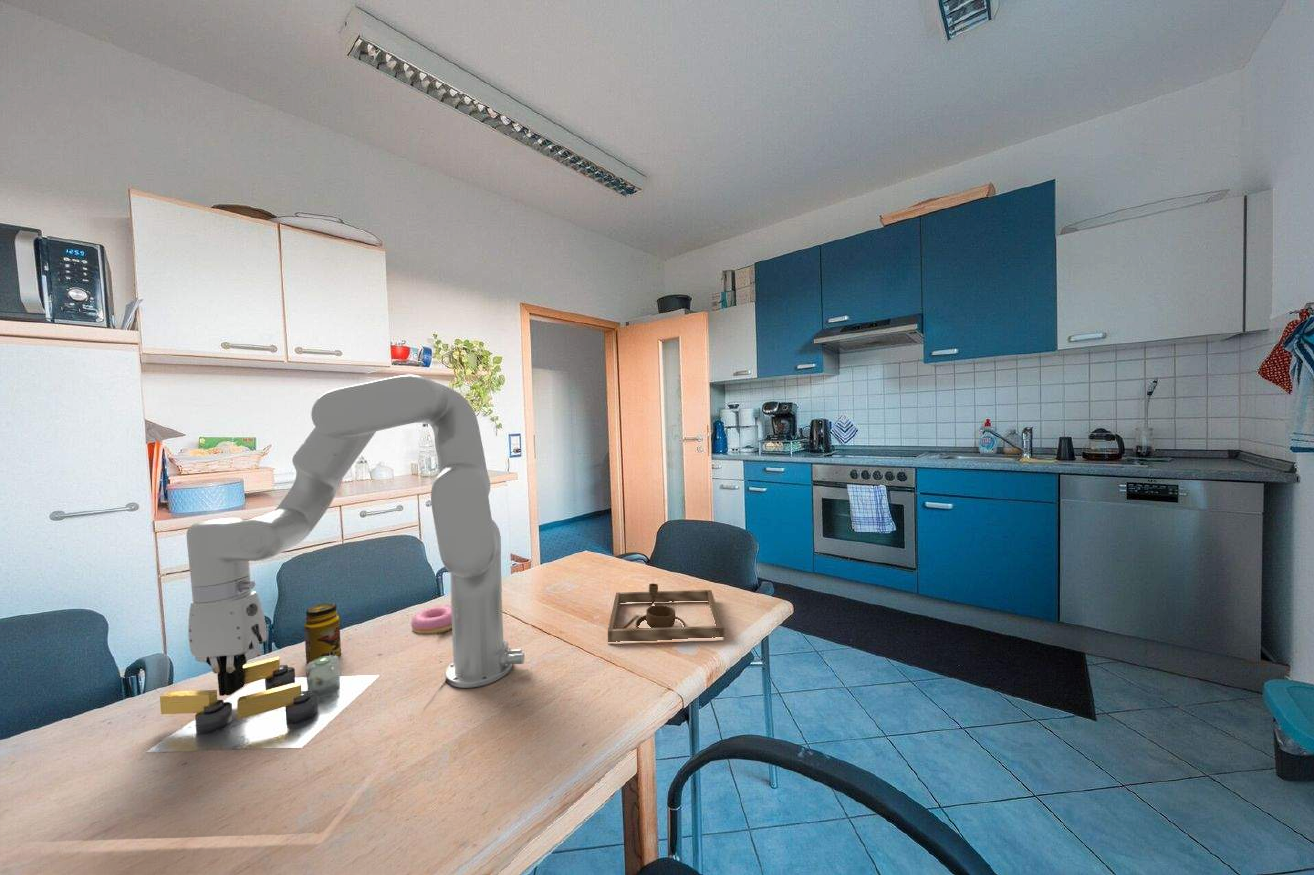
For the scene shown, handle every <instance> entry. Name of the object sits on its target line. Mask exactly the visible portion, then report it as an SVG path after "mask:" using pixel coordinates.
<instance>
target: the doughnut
mask: <svg viewBox="0 0 1314 875" xmlns="http://www.w3.org/2000/svg"><path fill="white" fill-rule="evenodd" d="M410 624H411V625H410V626H411V629H412V631H413V632H414V633H417V634H422V635H423V634H434V633H436V635H439V634H443V633H446V632H447V631H450V630H452V614H451V605H437V606H433V607H428V608H425V609H423V610H421V611H418V612H417V614H415V615H414V617H412V620H411V623H410Z"/></svg>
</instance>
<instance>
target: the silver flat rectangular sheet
mask: <svg viewBox="0 0 1314 875" xmlns="http://www.w3.org/2000/svg"><path fill="white" fill-rule="evenodd" d="M305 670H306V676H305V677H295V683H296V682H300V681H301V687H302V691H310V693H316V694H317V695H318V711H317V712H316V713H315V714H314V715H313V716H311V717H309V718H307V719H305V720H302V721H299V722H293V723H290V722H287V721H286V715H285V707H283V708H279V709H275V710H272V711H268V712H265V713H261V714H257V715H254V716H250V717H246V718H243V719H239V720H238V706H237V701H238V699H239V697H242V696H245V695H249V694H253V693H257V692H261V691H265V679H263V680H259V681H255V682H251V683H248V684H246V686H245V687H244V686H243V687H242V688H240V689H239V690H237V691H236V692H234V693H233V694H231V695H229V697H227V698H225V699H224V700H223V701H224V702H230V703H232V714H233V719H232V721H231V722H230V723H228V724H227V725H225V726H224V727H222V728H219V729H217V730H214V731H211V732H207V733H197V732H196V722H195V719H194V720H192V721H190V722H189V723H188V724H186V725H185V726H183V727H181V728H180V729H178V730H177V731H175V732H174V733H172V734H170V735H169V736H167V737H166V738H164V739H162V740H161V741H159V743H157V744H155V745H153V746H152V747H151V748H149V749H148V750H146V751H144V753H173V752H175V753H176V752H177V753H179V752H180V753H181V752H204V751H205V752H206V751H207V752H210V751H235V750H236V751H237V750H239V751H240V750H241V751H243V750H270V749H271V750H272V749H300V748H303V747H305V746H306V744H308V742H310V741H311V740H312V739H313V738H314V737H315V736H316V735H317V734H318V733H319V732H321V731H322V729H324V728H325V727H326V726H327V725H328V724H329V723H330V722H331V721H332V720H333V719H334V718H335V717H337V716H338V715H339V714H340V713H341V712H342V711H343V710H344V709H345V708H346V707H347V706H348V705H350V703H352V702H353V701H354V700H355V699H356V698H357V697H358V696H359V695H361V693H362V692H363V691H365V690H366V689H367V688H368V687H369V686H370V685H371V684H372V683H373V682H374V681H375V680H377V678H379V677H380V676H381V675H379V674H377V675H374V674H373V675H351V676H350V675H349V676H347V675H344V676H341V673H340V672H341V670H340V657H338V656H323V657H320V658H318V659H316V660H313V661H312V662H310V663H309V664H307V663H306V667H305Z"/></svg>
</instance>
